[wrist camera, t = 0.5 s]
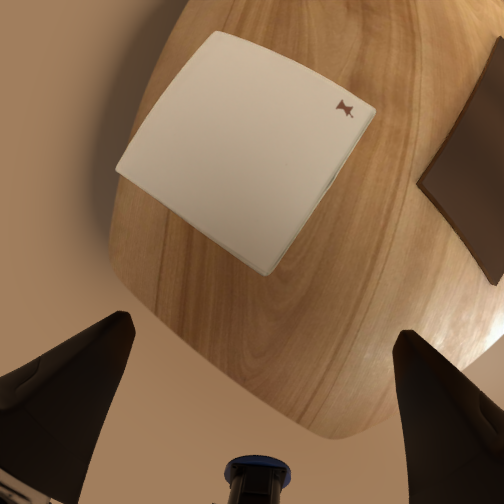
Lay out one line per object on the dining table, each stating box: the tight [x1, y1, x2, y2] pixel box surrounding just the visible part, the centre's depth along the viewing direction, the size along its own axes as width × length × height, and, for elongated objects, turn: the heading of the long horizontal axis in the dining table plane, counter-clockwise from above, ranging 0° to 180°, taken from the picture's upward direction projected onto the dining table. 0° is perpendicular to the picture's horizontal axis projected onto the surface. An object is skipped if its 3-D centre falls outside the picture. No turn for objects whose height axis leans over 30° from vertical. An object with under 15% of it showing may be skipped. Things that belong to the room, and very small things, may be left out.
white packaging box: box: [116, 31, 376, 276], centre depth 15 cm, size 7×7×13 cm
